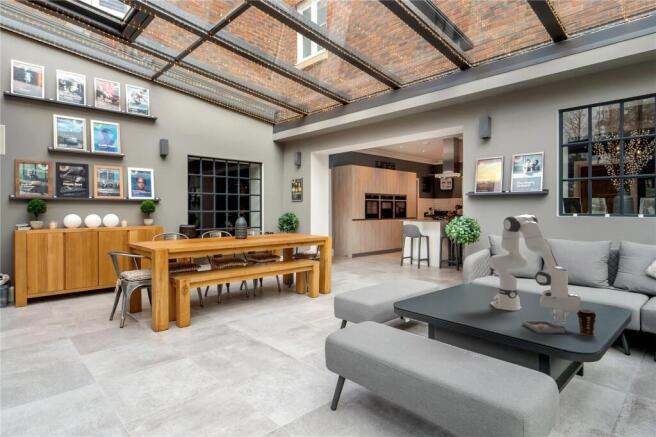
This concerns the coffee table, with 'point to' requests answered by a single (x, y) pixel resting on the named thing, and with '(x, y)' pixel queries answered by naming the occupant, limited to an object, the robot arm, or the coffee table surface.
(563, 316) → the shaker
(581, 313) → the coffee cup
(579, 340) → the coffee table surface
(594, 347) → the coffee table surface
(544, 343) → the coffee table surface
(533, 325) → the tray
